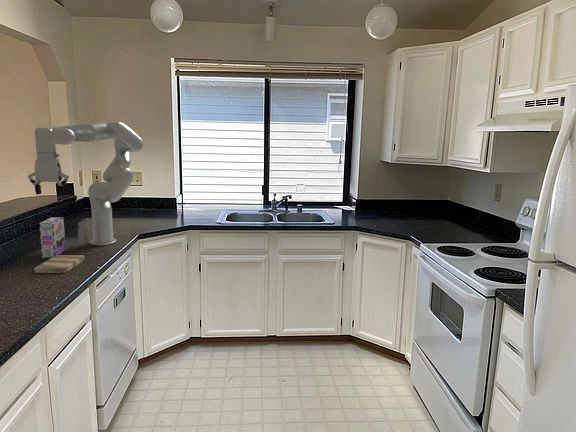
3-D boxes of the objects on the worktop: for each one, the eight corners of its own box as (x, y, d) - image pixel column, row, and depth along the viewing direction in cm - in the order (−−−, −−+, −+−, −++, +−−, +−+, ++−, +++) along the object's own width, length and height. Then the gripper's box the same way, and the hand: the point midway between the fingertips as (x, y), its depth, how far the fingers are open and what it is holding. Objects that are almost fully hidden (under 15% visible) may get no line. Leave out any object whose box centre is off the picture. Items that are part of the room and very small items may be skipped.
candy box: (55, 258, 184) (52, 222, 181) (41, 258, 183) (38, 222, 180) (66, 250, 198) (64, 216, 195) (53, 250, 197) (50, 216, 194)
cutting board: (57, 259, 183) (56, 255, 183) (84, 259, 184) (84, 255, 183) (34, 272, 165) (34, 267, 165) (65, 272, 166) (65, 268, 166)
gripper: (70, 156, 186) (73, 193, 189) (31, 155, 185) (34, 192, 188) (62, 157, 179) (65, 195, 182) (21, 156, 177) (25, 195, 181)
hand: (49, 194), depth 185 cm, fingers open, 9 cm apart
